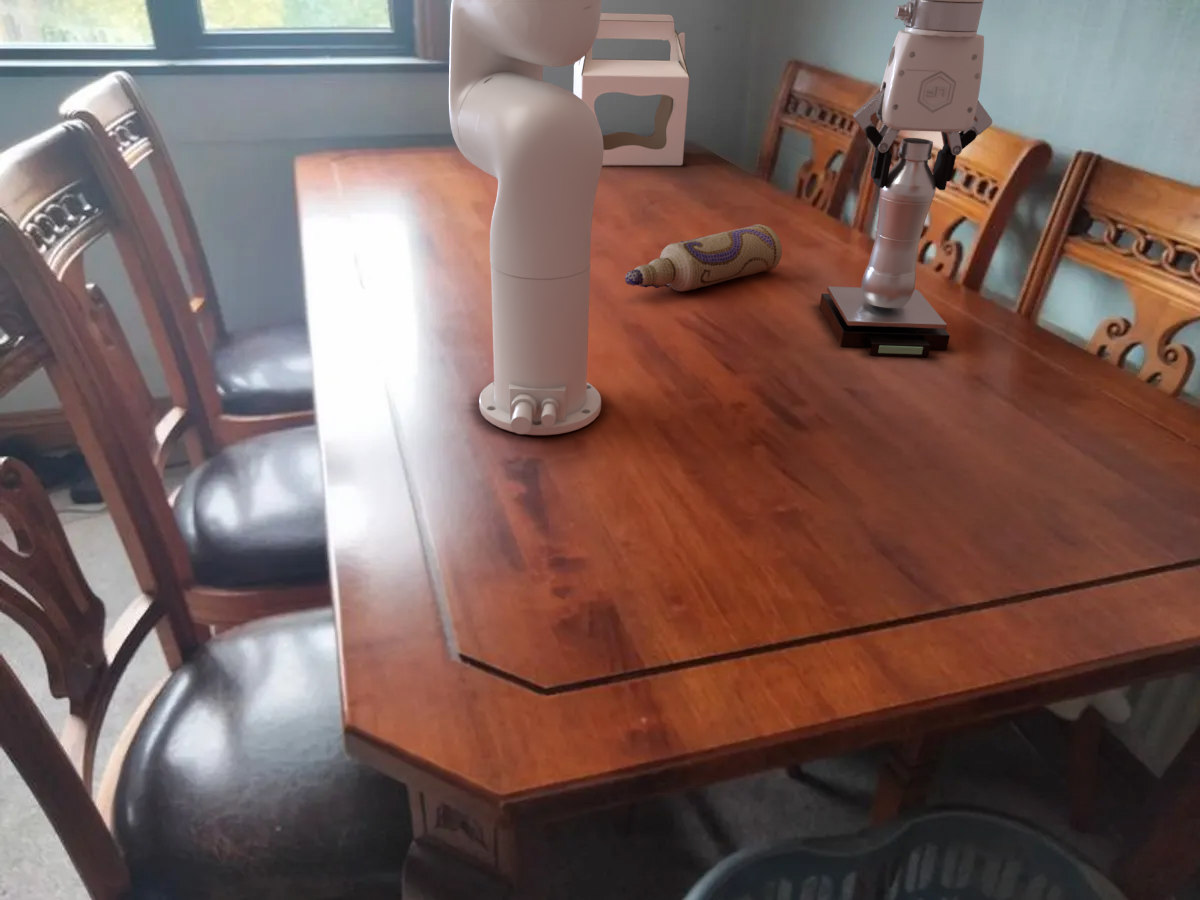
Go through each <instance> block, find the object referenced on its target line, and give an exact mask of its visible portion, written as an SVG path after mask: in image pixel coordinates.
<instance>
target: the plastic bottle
mask: <svg viewBox="0 0 1200 900" xmlns="http://www.w3.org/2000/svg"><path fill="white" fill-rule="evenodd" d="M933 146H934V142H933V141H932V140H930V139H926V138H922V137H921V138H920V137H904V138H901V140H900V145H899V149H898V151H897V157H899V158H898V161H897V162H895V164H894V165H892V167H890V169H889V174H888V179H887V184H886V187H884V188H879V195H878V196H879V197H878V199H879V200H878V215H877V216H878V217H877V223H876V231H875V237H874V242H873V246H872V249H871V253H870V257H869V260H868V264H867V266H866V267H865V270H864V272H863V276H862V279H861V287H860V288H861V293H862V296H863V298H864V300H865V301H866V302H867V303H869V304H872V305H874V306H878V307H883V308H899V307H903V306H905V305H906V304H907V303H908V302H909V301H910V299H911V297H912V294H913V292H914V289H916V280H917V279H916V278H917V274H916V273H917V272H916V269H917V261H918V255H919V254H918V252H919V245H920V242H921V239H922V238H921V237H922V236H921V235H922V234H923V230H924V227H925V222H926V219H927V217H928V214H929V211H930V209H931V205H932V203H933V199H934V197H935V194H936V191H937V187H936V184H935V180H934V177H933V172H932V170H931V168H930V166H929V160H932V156H933V154H932V152H933Z"/></svg>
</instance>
